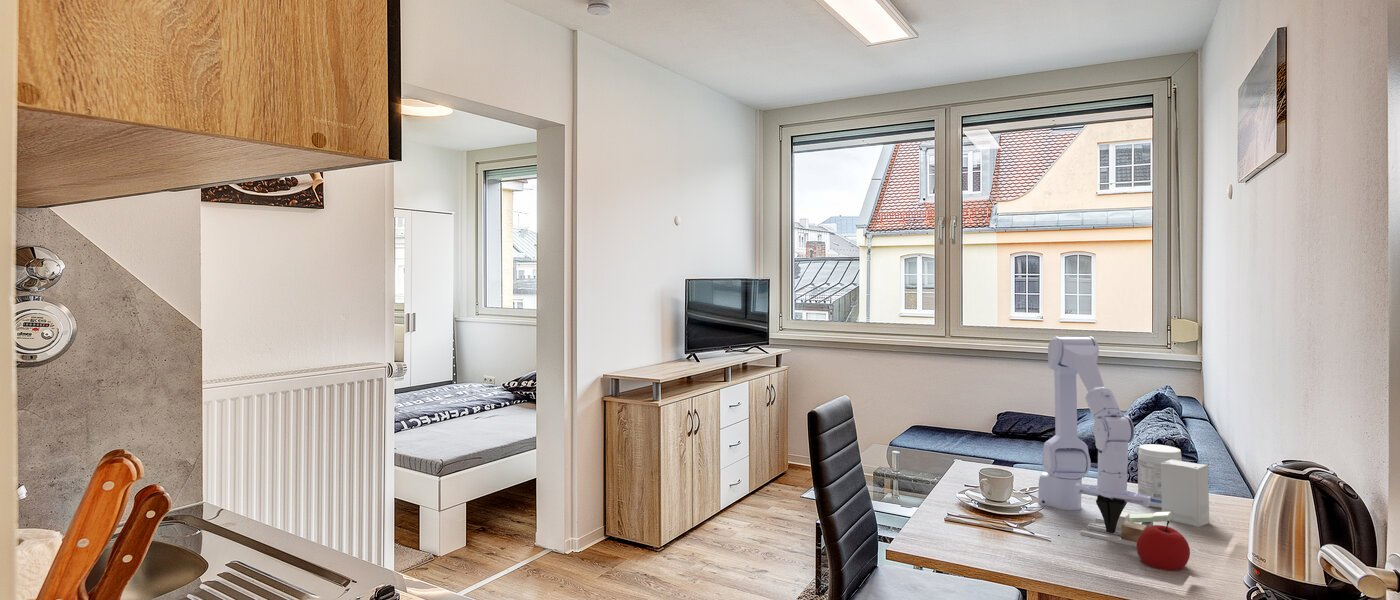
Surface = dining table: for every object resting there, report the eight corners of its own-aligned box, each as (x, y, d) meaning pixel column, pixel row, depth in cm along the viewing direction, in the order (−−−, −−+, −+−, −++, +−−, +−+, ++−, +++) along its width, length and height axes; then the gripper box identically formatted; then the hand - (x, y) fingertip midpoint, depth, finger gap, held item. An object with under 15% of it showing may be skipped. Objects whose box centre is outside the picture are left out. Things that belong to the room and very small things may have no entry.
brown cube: (1121, 541, 158) (1121, 525, 158) (1125, 536, 161) (1126, 521, 161) (1142, 546, 156) (1142, 530, 155) (1146, 541, 158) (1146, 525, 158)
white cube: (1105, 528, 167) (1105, 513, 167) (1109, 524, 170) (1110, 509, 170) (1124, 532, 164) (1125, 517, 164) (1129, 528, 167) (1129, 513, 167)
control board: (1064, 537, 164) (1064, 524, 164) (1092, 515, 180) (1092, 503, 180) (1168, 561, 151) (1168, 547, 151) (1188, 534, 167) (1188, 522, 167)
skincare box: (1209, 528, 171) (1211, 465, 171) (1197, 532, 168) (1199, 468, 168) (1170, 518, 178) (1172, 457, 178) (1158, 522, 175) (1160, 460, 175)
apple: (1135, 558, 152) (1136, 510, 152) (1187, 566, 148) (1189, 518, 148) (1136, 573, 144) (1137, 522, 144) (1191, 583, 140) (1192, 531, 140)
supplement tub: (1159, 497, 195) (1160, 443, 195) (1190, 508, 186) (1191, 451, 186) (1128, 499, 193) (1129, 444, 193) (1158, 510, 184) (1159, 452, 184)
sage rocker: (1124, 522, 168) (1122, 517, 169) (1128, 518, 171) (1127, 513, 172) (1168, 521, 162) (1167, 515, 163) (1172, 517, 165) (1170, 511, 166)
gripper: (1071, 468, 163) (1069, 528, 163) (1146, 480, 153) (1144, 544, 154) (1080, 462, 168) (1079, 520, 169) (1153, 474, 158) (1151, 536, 159)
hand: (1110, 531), depth 161 cm, fingers closed
